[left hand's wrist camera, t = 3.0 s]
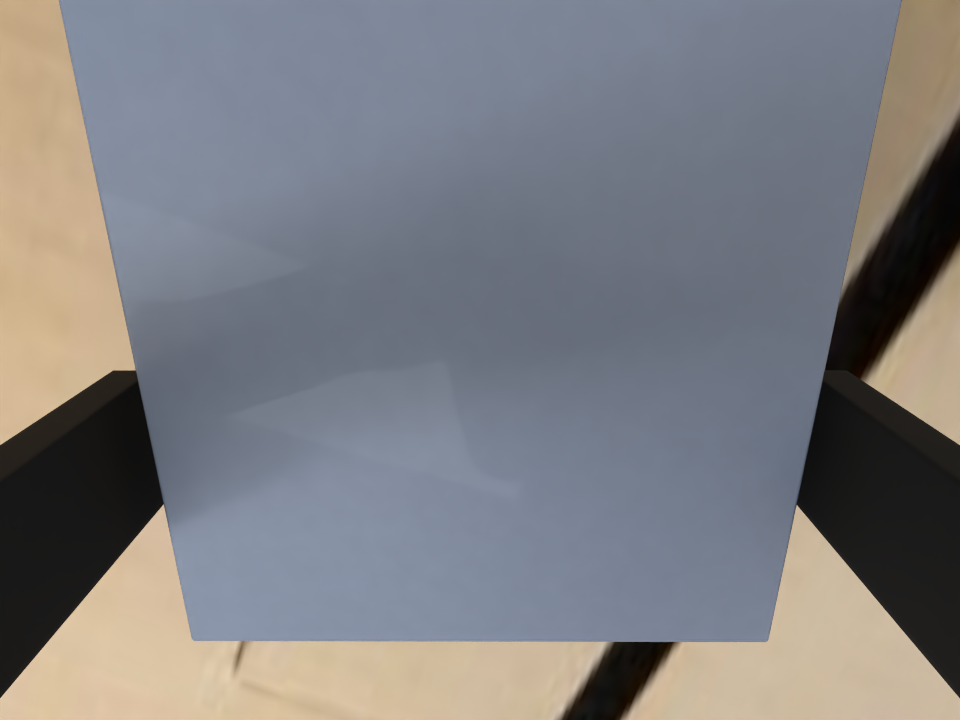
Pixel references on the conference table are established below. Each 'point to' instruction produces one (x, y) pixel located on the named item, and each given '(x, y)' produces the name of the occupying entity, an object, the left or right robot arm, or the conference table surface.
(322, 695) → the conference table surface
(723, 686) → the conference table surface
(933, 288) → the conference table surface
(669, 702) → the conference table surface
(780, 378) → the cabinet
